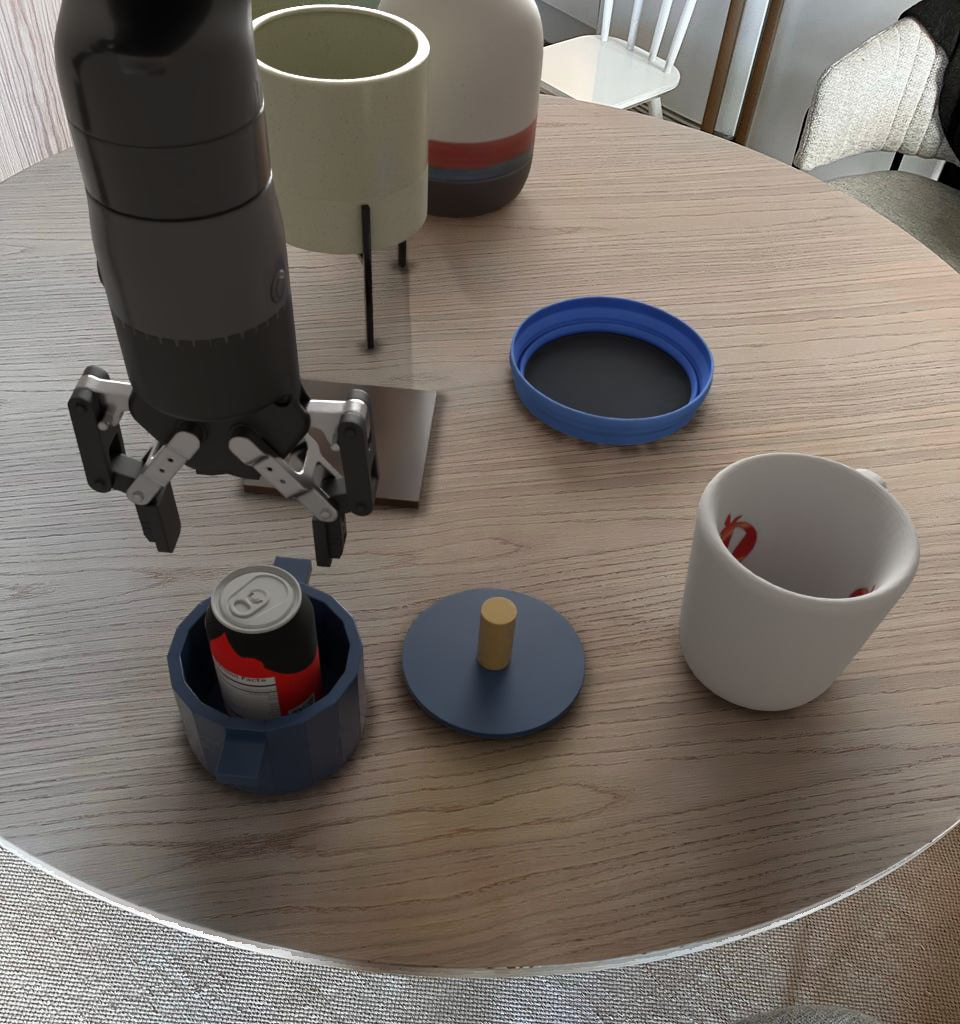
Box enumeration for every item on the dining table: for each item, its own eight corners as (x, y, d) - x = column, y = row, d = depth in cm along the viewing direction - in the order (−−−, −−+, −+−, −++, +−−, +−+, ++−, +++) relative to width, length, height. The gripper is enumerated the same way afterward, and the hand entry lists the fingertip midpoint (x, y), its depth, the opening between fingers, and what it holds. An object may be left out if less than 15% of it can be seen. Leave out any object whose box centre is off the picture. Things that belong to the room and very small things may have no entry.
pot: (156, 823, 63) (130, 759, 57) (221, 613, 73) (205, 541, 67) (343, 841, 62) (337, 779, 57) (381, 628, 73) (379, 558, 67)
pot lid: (390, 734, 68) (388, 679, 63) (413, 590, 76) (413, 531, 71) (581, 753, 67) (595, 699, 63) (584, 607, 75) (596, 549, 71)
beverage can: (344, 715, 68) (334, 598, 58) (270, 772, 65) (247, 658, 55) (283, 661, 70) (264, 540, 61) (209, 714, 67) (177, 595, 58)
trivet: (244, 492, 81) (242, 484, 80) (279, 383, 90) (278, 375, 89) (418, 509, 81) (418, 501, 80) (437, 398, 90) (437, 391, 89)
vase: (503, 245, 106) (524, -10, 87) (352, 211, 108) (340, -44, 90) (547, 172, 116) (573, -71, 97) (408, 142, 118) (407, -99, 100)
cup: (755, 528, 82) (808, 389, 71) (910, 619, 77) (992, 484, 66) (619, 660, 72) (656, 523, 62) (785, 773, 67) (857, 646, 57)
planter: (462, 295, 100) (474, 41, 82) (349, 367, 92) (335, 103, 74) (349, 236, 105) (337, -14, 87) (233, 299, 97) (194, 38, 79)
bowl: (725, 358, 96) (735, 326, 93) (676, 477, 85) (685, 444, 82) (546, 308, 99) (550, 275, 96) (476, 416, 88) (479, 382, 86)
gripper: (380, 247, 45) (388, 512, 57) (59, 218, 45) (137, 489, 57) (354, 349, 40) (368, 613, 53) (-5, 317, 40) (96, 588, 53)
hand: (248, 548), depth 55 cm, fingers open, 8 cm apart
